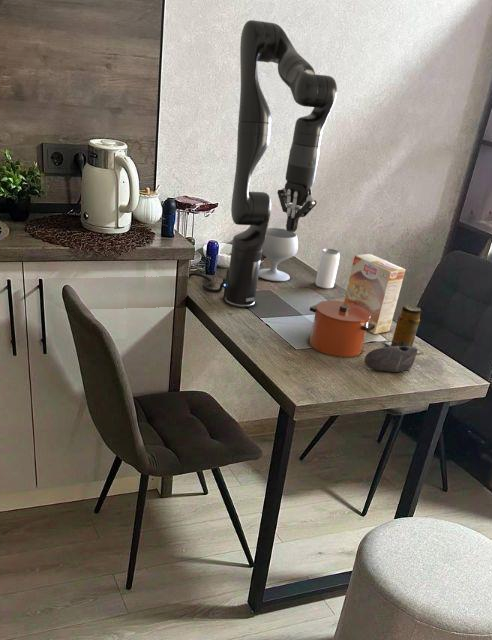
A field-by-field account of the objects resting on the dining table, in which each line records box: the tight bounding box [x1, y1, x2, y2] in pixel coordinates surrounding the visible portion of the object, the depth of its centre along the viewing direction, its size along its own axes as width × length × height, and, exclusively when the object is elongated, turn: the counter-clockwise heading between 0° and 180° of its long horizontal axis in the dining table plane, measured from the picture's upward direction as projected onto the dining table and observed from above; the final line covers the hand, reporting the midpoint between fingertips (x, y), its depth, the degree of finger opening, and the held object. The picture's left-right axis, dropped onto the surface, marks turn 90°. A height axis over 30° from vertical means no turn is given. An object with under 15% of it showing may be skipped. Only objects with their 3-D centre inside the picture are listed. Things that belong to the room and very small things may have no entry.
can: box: [314, 248, 341, 290], centre depth 248 cm, size 6×6×12 cm
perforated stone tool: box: [364, 346, 418, 373], centre depth 195 cm, size 15×5×7 cm, turn 98°
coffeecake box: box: [343, 253, 406, 335], centre depth 220 cm, size 15×7×20 cm, turn 36°
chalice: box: [258, 227, 299, 282], centre depth 249 cm, size 14×14×15 cm
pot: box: [309, 299, 375, 358], centre depth 204 cm, size 19×15×12 cm
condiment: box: [384, 304, 422, 354], centre depth 209 cm, size 7×8×12 cm
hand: (290, 231), depth 195 cm, fingers closed
